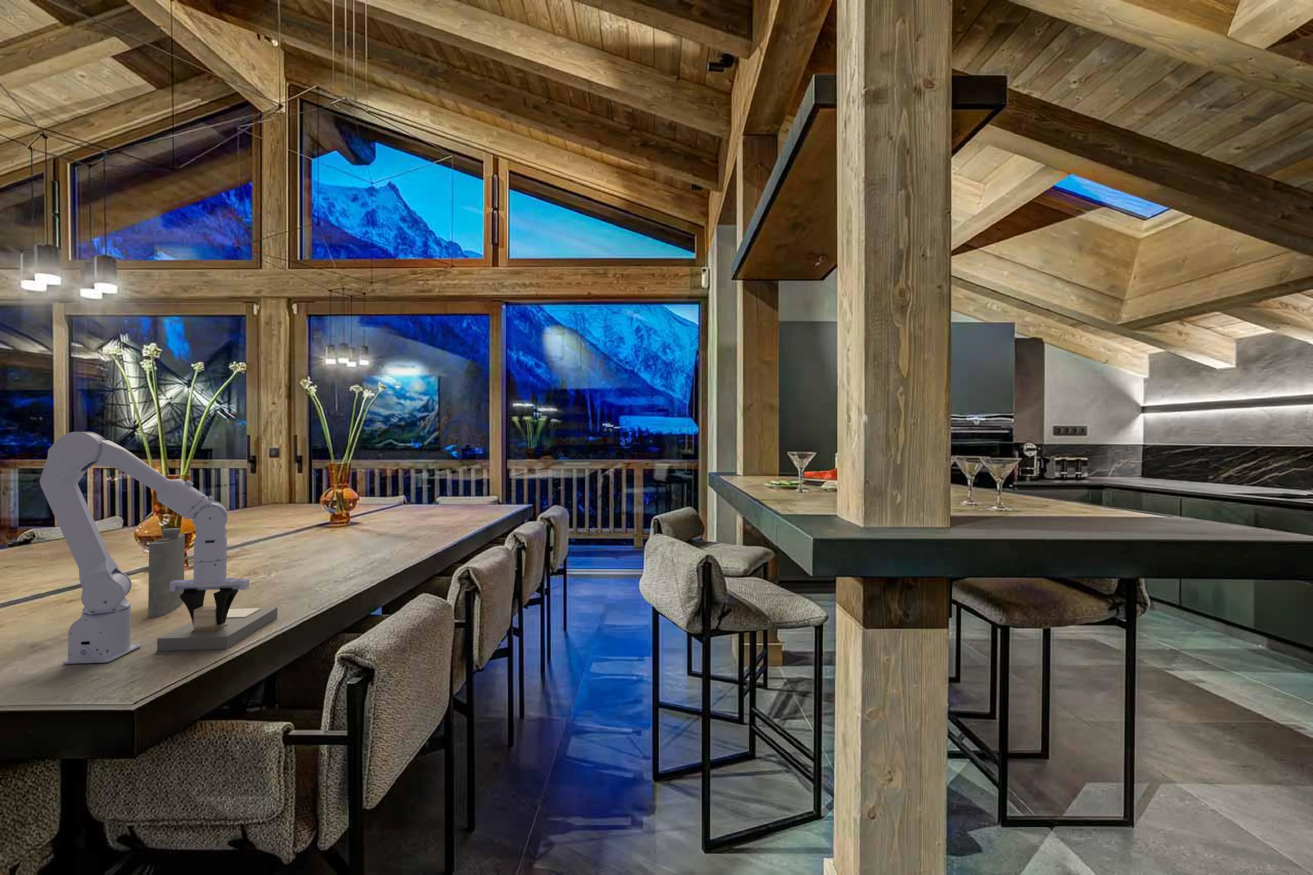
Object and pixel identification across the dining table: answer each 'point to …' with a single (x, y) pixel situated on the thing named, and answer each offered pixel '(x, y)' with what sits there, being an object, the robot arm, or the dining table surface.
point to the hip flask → (165, 572)
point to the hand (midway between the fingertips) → (209, 623)
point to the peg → (206, 619)
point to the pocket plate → (235, 630)
